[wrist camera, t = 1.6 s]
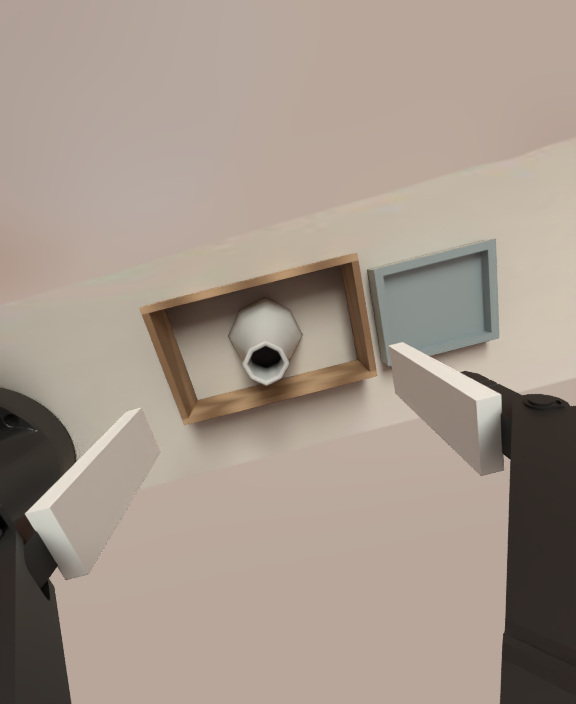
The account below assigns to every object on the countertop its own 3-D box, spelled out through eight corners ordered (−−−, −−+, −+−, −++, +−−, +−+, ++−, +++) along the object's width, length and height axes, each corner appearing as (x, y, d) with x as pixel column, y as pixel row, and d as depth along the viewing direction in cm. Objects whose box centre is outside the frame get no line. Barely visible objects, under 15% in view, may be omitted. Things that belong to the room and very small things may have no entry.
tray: (381, 361, 32) (388, 366, 31) (367, 269, 30) (373, 269, 28) (486, 334, 32) (499, 338, 31) (482, 240, 30) (495, 238, 28)
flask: (314, 333, 31) (336, 362, 21) (266, 380, 32) (267, 428, 22) (264, 284, 29) (264, 291, 20) (215, 335, 30) (193, 366, 21)
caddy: (194, 406, 32) (184, 425, 28) (155, 302, 29) (139, 307, 25) (364, 363, 32) (377, 375, 28) (344, 255, 29) (357, 253, 25)
